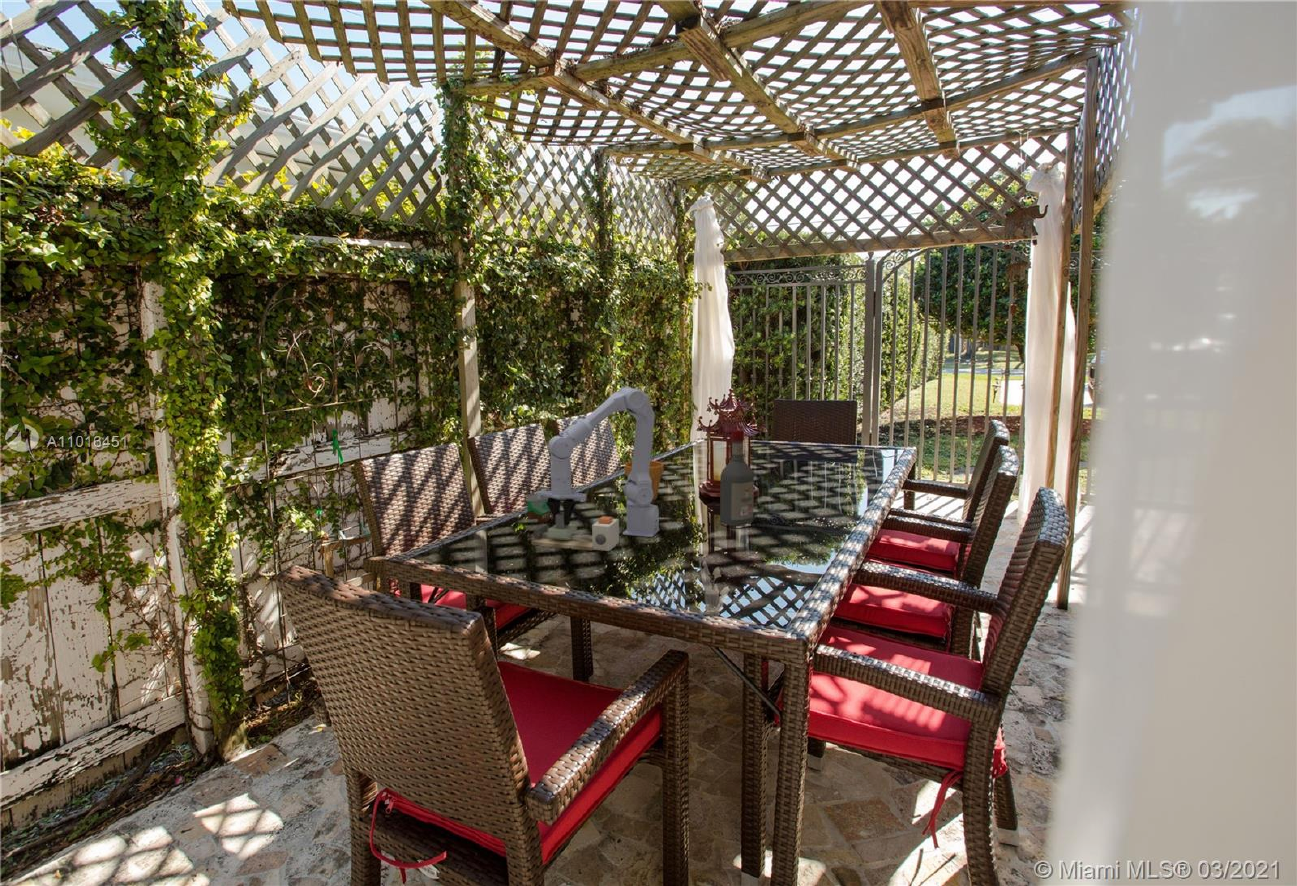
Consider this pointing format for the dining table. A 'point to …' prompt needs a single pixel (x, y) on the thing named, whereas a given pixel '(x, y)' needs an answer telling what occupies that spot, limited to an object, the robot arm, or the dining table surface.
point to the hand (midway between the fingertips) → (562, 524)
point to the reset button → (605, 520)
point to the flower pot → (654, 472)
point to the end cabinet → (605, 535)
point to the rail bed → (561, 540)
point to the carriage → (561, 528)
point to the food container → (537, 507)
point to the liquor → (736, 486)
